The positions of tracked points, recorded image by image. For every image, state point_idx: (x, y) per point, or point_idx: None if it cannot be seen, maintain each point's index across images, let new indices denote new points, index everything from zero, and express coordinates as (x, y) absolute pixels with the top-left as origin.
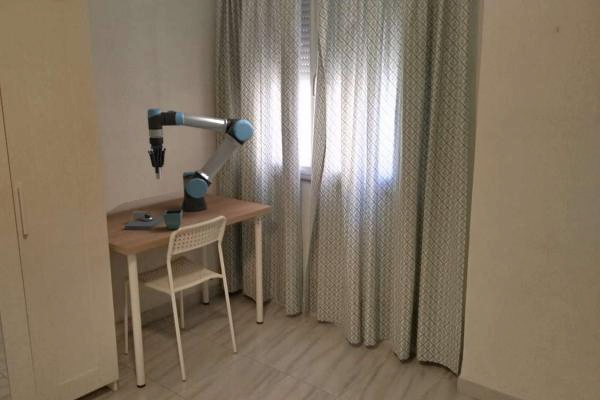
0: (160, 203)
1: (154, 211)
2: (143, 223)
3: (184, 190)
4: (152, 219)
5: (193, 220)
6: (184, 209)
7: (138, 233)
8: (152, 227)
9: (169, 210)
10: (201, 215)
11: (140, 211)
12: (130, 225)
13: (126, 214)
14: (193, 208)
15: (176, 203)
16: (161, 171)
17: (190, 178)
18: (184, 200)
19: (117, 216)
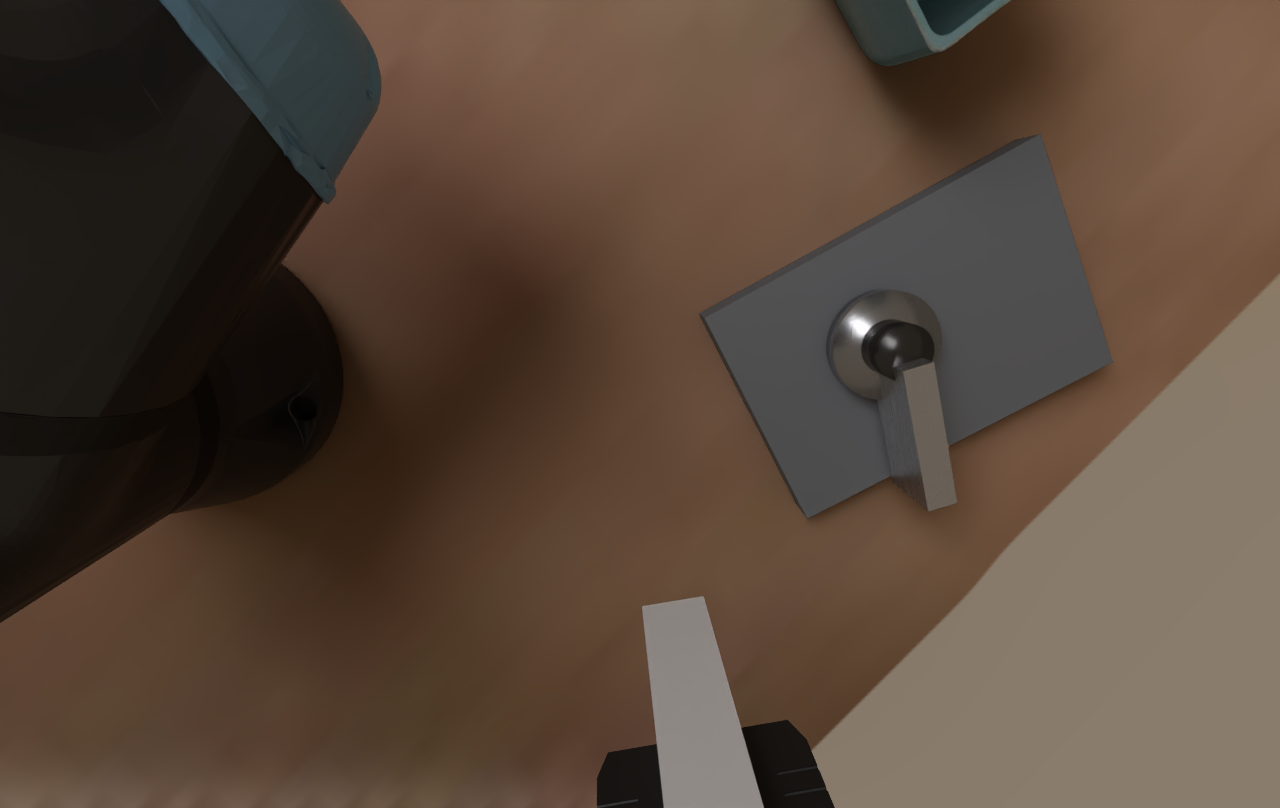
0: (297, 768)
1: (527, 603)
2: (988, 279)
3: (161, 483)
4: (871, 292)
5: (553, 9)
6: (336, 385)
7: (1143, 156)
8: (989, 157)
9: (921, 9)
10: None
11: (924, 436)
12: (1085, 329)
13: None
14: (280, 282)
15: (193, 663)
16: (604, 777)
17: (29, 105)
18: (258, 437)
19: (805, 710)
